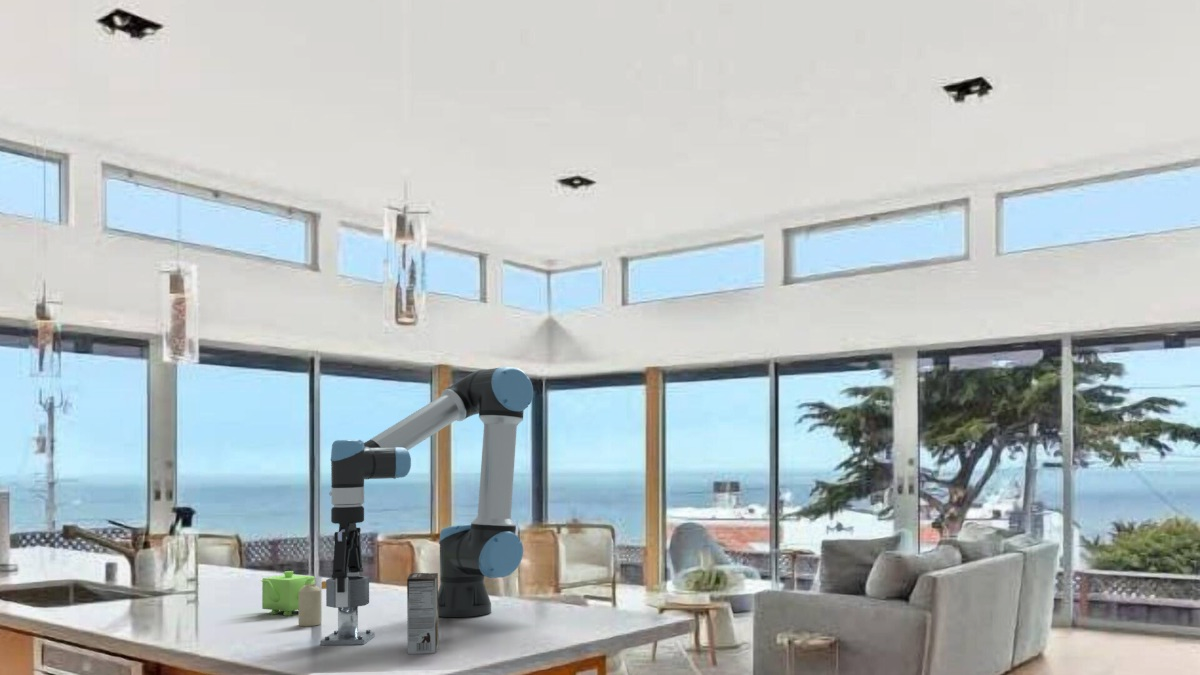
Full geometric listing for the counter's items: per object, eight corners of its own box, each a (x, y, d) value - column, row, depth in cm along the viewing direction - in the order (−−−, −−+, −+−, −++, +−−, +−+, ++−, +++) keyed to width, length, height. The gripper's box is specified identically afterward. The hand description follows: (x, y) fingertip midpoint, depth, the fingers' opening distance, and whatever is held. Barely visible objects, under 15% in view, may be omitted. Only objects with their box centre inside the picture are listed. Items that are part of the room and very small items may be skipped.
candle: (314, 626, 271) (314, 586, 272) (294, 626, 272) (294, 586, 273) (324, 622, 277) (324, 583, 278) (304, 622, 278) (304, 583, 279)
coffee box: (410, 646, 241) (409, 573, 243) (439, 645, 242) (438, 572, 243) (406, 654, 232) (405, 578, 234) (436, 653, 233) (435, 577, 234)
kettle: (315, 615, 290) (315, 572, 291) (260, 619, 286) (260, 576, 287) (315, 607, 304) (315, 566, 305) (263, 610, 301) (263, 569, 302)
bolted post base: (374, 636, 255) (374, 599, 256) (364, 644, 245) (364, 606, 246) (332, 637, 255) (332, 600, 256) (320, 645, 245) (320, 607, 246)
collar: (372, 601, 255) (371, 575, 256) (362, 607, 246) (362, 580, 247) (328, 602, 256) (328, 576, 256) (316, 608, 247) (316, 581, 247)
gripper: (344, 503, 264) (344, 597, 262) (317, 509, 243) (317, 611, 240) (375, 502, 264) (375, 596, 262) (351, 508, 242) (351, 610, 240)
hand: (347, 603), depth 251 cm, fingers closed on collar, 9 cm apart
